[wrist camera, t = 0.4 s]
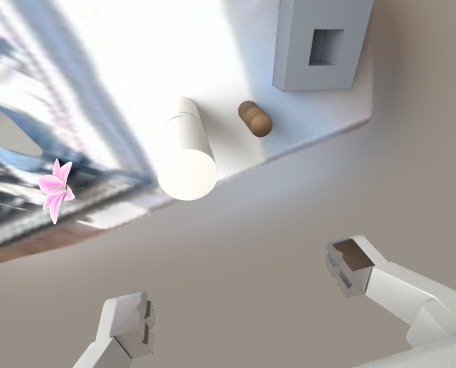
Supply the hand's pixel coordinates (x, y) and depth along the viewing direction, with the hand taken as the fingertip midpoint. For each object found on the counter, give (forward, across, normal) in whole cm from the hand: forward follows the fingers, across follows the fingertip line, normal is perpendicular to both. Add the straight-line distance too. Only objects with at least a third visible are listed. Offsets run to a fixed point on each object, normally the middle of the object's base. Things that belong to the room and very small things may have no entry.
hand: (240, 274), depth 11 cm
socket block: (+45, -25, -2) cm, 51 cm away
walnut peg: (+45, -12, +8) cm, 47 cm away
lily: (+45, +29, +14) cm, 55 cm away
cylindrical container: (+45, +2, +6) cm, 45 cm away
